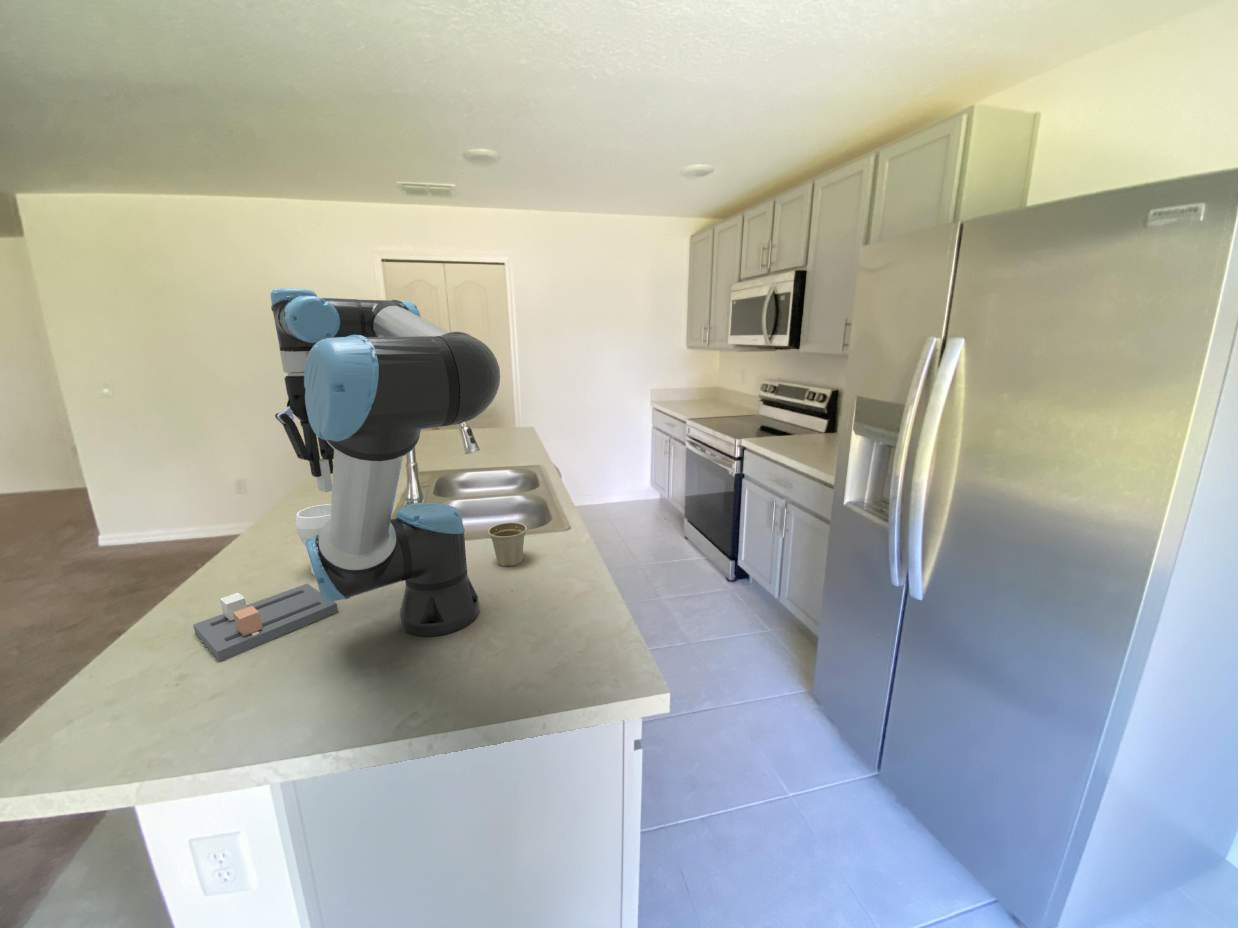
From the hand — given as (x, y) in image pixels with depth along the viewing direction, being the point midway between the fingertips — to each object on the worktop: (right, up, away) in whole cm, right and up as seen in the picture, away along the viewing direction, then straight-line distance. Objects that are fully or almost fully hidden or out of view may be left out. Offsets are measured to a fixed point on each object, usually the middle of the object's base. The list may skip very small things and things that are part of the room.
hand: (325, 490), depth 102 cm
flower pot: (+33, -19, +23) cm, 44 cm away
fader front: (-9, -25, -9) cm, 28 cm away
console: (-9, -26, -3) cm, 28 cm away
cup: (-10, -20, +20) cm, 30 cm away
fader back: (-15, -24, -4) cm, 29 cm away
